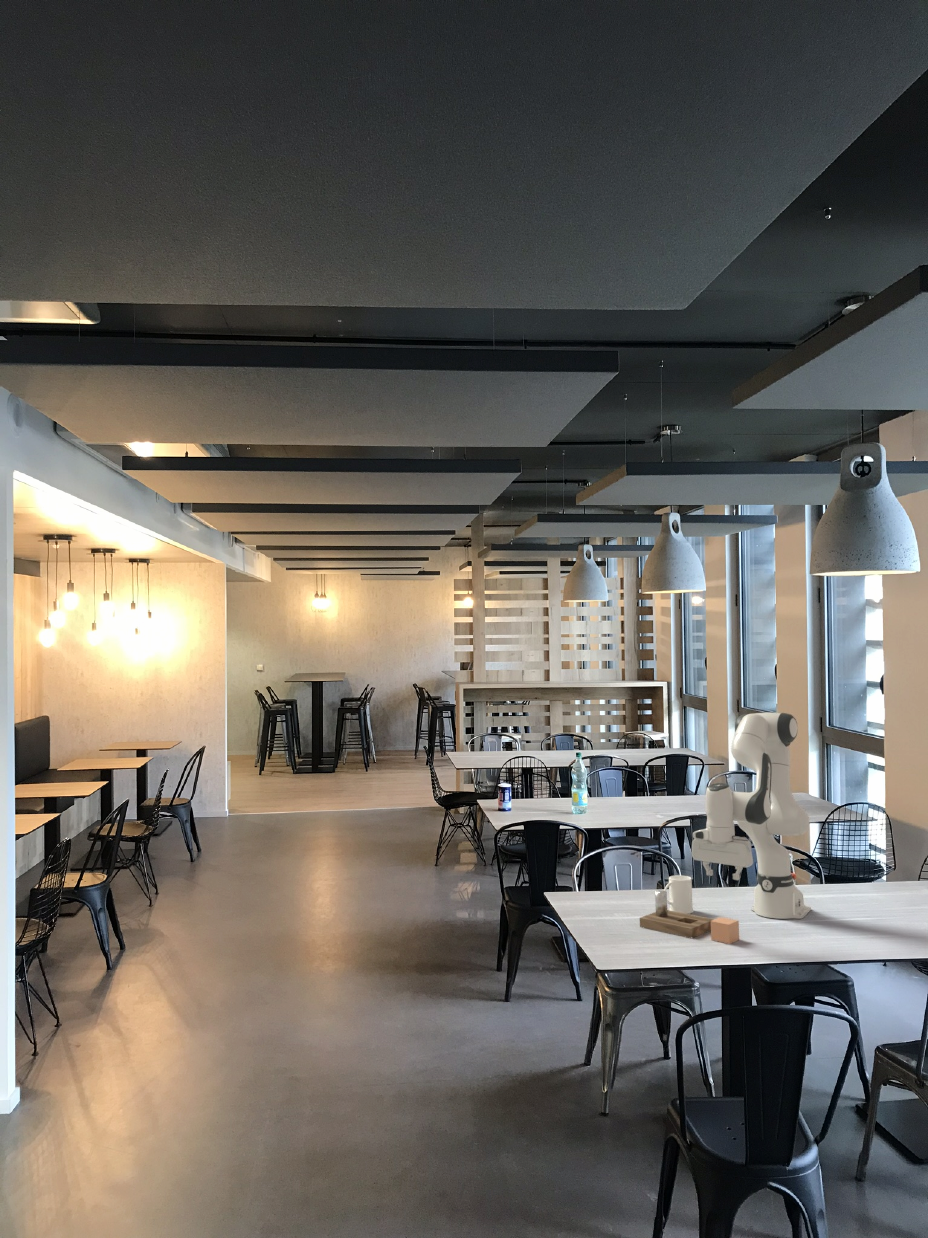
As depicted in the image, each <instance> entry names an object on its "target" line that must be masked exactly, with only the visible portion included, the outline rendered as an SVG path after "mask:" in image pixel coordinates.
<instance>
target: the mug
mask: <svg viewBox="0 0 928 1238" xmlns="http://www.w3.org/2000/svg"><path fill="white" fill-rule="evenodd" d="M692 882H693V881H692V877H691V876H688V875H679V874H678V875H677V874H676V875H671V876H669V877H668V883H667V884H666V886H665V887H664V889H663V891H666V892H667V889H669V890H668V891H669V892H668V893H669V900H667V905H669V909H668V910H670V911H675V912H680V913H685V914H690V915H691V914H692V913H694V907H693V905H694V904H693V885H692Z"/></svg>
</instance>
